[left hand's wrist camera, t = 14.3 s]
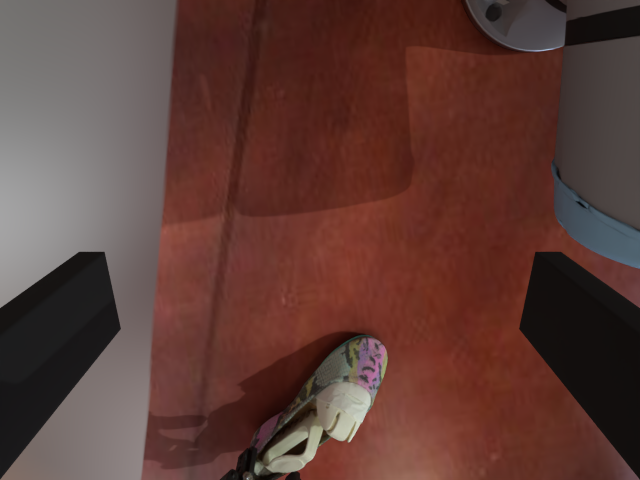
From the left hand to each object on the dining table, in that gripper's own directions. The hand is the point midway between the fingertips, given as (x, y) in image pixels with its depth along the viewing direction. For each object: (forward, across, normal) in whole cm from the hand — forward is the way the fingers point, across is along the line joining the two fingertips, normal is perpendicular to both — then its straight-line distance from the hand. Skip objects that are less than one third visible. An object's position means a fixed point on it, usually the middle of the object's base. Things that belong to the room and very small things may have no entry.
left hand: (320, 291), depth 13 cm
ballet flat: (+31, 0, -33) cm, 45 cm away
